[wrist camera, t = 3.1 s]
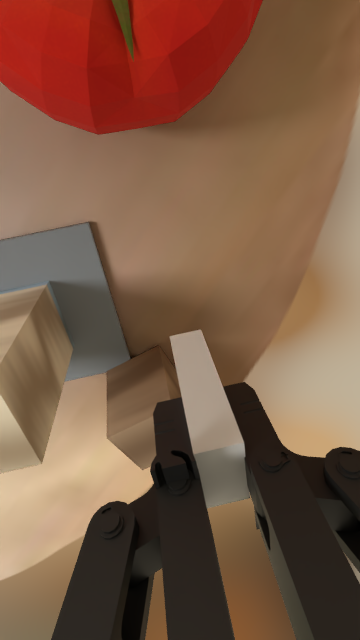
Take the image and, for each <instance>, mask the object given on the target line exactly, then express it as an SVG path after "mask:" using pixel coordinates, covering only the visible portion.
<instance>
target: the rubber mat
mask: <svg viewBox="0 0 360 640" xmlns="http://www.w3.org/2000/svg"><path fill="white" fill-rule="evenodd" d="M46 281H49V283H50V285H51V287H52V290H53V292H54V295H55V297H56V300H57V302H58V305H59V307H60V310H61V312H62V315H63V317H64V320H65V322H66V325H67V327H68V330H69V332H70V335H71V337H72V340H73V342H74V348H73V352H72V355H71V359H70V363H69V366H68V370H67V374H66V377H65V381H69V380H74V379H78V378H83V377H87V376H92V375H96V374H101V373H105V372H107V371H108V370H110V369H112V368H114V367H116V366H118V365H120V364H122V363H124V362H126V361H128V360H130V359H131V358H130V354H129V351H128V348H127V345H126V341H125V338H124V335H123V332H122V328H121V325H120V322H119V319H118V315H117V312H116V309H115V306H114V302H113V299H112V296H111V292H110V289H109V286H108V283H107V279H106V276H105V273H104V270H103V266H102V263H101V260H100V257H99V253H98V250H97V247H96V244H95V240H94V237H93V234H92V231H91V227H90V224H89V222H85V223H80V224H76V225H71V226H66V227H61V228H56V229H51V230H47V231H42V232H37V233H32V234H27V235H22V236H17V237H13V238H8V239H3V240H0V291H4V290H8V289H13V288H18V287H23V286H27V285H32V284H37V283H41V282H46ZM65 381H64V382H65Z"/></svg>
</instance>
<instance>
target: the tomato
mask: <svg viewBox="0 0 360 640" xmlns="http://www.w3.org/2000/svg"><path fill="white" fill-rule="evenodd" d="M262 1H263V0H0V81H1V82H2V83H3V84H4V85H5V86H6V87H7V88H8V89H9V90H10V91H12V92H13V93H15V94H16V95H18V96H19V97H21V98H22V99H24V100H25V101H27V102H28V103H30V104H32V105H33V106H35V107H36V108H38V109H39V110H41V111H42V112H44V113H45V114H47V115H48V116H50V117H51V118H53V119H54V120H56V121H59V122H62V123H65V124H68V125H71V126H74V127H77V128H80V129H83V130H86V131H89V132H92V133H95V134H98V135H100V134H106V133H112V132H119V131H125V130H131V129H138V128H143V127H148V126H153V125H158V124H164V123H169V122H174V121H176V120H177V119H179V118H180V117H181V116H182V115H184V114H185V113H186V112H187V111H189V110H190V109H191V108H192V107H194V106H195V105H196V104H197V103H199V102H200V101H201V100H202V99H204V98H205V97H206V96H207V95H209V94H210V92H211V91H212V89H213V88H214V87H215V85H216V84H217V83H218V81H219V80H220V78H221V77H222V76H223V74H224V73H225V71H226V70H227V69H228V67H229V66H230V65H231V63H232V62H233V60H234V59H235V58H236V56H237V55H238V54H239V52H240V50H241V49H242V47H243V46H244V44H245V43H246V41H247V39H248V37H249V35H250V32H251V29H252V27H253V24H254V22H255V19H256V16H257V14H258V11H259V9H260V6H261V3H262Z"/></svg>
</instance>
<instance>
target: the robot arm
mask: <svg viewBox="0 0 360 640" xmlns="http://www.w3.org/2000/svg"><path fill="white" fill-rule="evenodd" d="M170 341H171V346H172V351H173V356H174V361H175V366H176V371H177V376H178V381H179V386H180V391H181V396H182V397H180V398H175V399H171V400H166V401H162V402H157V405H156V407H155V409H154V412H153V420H154V433H155V445H156V456H155V458H154V460H153V462H152V463H151V469H150V472H151V475H152V478H153V481H154V484H153V486H152V487H151V489H150V490H149V491H148V492H147V493H146V494H144V495H143V496H141V497H140V498H138V499H137V500H135V501H133V502H131V503H130V504H127V503H125V502H120V501H115V502H109V503H107V504H106V505H104V506H102V507H101V508H100V509H99V510H98V511H97V512H96V513H95V514H94V515H93V517H92V519H91V521H90V523H89V525H88V528H87V531H86V534H85V537H84V540H83V543H82V547H81V550H80V553H79V556H78V559H77V562H76V565H75V568H74V571H73V574H72V577H71V580H70V583H69V586H68V590H67V593H66V596H65V599H64V602H63V605H62V608H61V611H60V614H59V617H58V620H57V624H56V627H55V629H54V633H53V636H52V639H51V640H145V636H146V629H147V622H148V615H149V607H150V600H151V594H152V587H153V580H154V573H155V572H157V571H158V570H160V569H161V568H162V570H163V583H164V596H165V609H166V622H167V635H168V640H235V637H234V633H233V628H232V623H231V619H230V615H229V609H228V604H227V600H226V595H225V591H224V586H223V581H222V576H221V572H220V567H219V563H218V558H217V553H216V548H215V544H214V539H213V534H212V529H211V525H210V520H209V516H208V511H207V508H210V507H215V506H219V505H223V504H227V503H231V502H235V501H240V500H244V499H248V498H250V495H251V498H252V501H253V504H254V509H255V518H256V527H257V529H260V531H261V534H262V537H263V540H264V543H265V546H266V549H267V552H268V555H269V558H270V561H271V564H272V567H273V570H274V573H275V576H276V579H277V582H278V585H279V588H280V591H281V594H282V597H283V600H284V603H285V607H286V610H287V613H288V616H289V618H290V621H291V624H292V628H293V630H294V634H295V636H296V640H360V584H359V582H358V580H357V578H356V576H355V574H354V572H353V570H352V568H351V566H350V564H349V563H348V560H347V558H346V557H345V555H344V553H345V554H346V556H347V557H348V558H349V559H350V561H351V562H352V563H353V565H354V566H355V567H356V568H357V570H358V571H359V572H360V451H357V450H355V449H352V448H346V447H339V448H335V449H332V450H331V451H330V452H329V453H327V455H326V457H325V458H320V457H307V456H301V455H298V454H295V453H293V452H291V451H290V450H288V449H287V448H286V447H285V446H283V444H282V443H281V441H280V440H279V438H278V436H277V434H276V432H275V430H274V428H273V426H272V424H271V422H270V420H269V418H268V416H267V414H266V413H265V410H264V409H263V407H262V404H261V402H260V401H259V399H258V396H257V395H256V392H255V390H254V389H253V388H251V387H250V386H249V385H248V384H246V383H245V382H242V383H238V384H233V385H229V386H225V387H223V386H222V383H221V381H220V378H219V375H218V373H217V370H216V368H215V365H214V362H213V360H212V357H211V354H210V352H209V349H208V347H207V344H206V341H205V339H204V336H203V333H202V331H201V329H200V330H196V331H191V332H186V333H182V334H177V335H173V336H170ZM249 492H250V493H249ZM342 550H343V551H342ZM343 552H344V553H343Z"/></svg>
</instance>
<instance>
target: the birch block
mask: <svg viewBox="0 0 360 640" xmlns="http://www.w3.org/2000/svg"><path fill="white" fill-rule="evenodd" d="M73 348H74V342H73V340H72V337H71V335H70V332H69V330H68V327H67V325H66V322H65V320H64V317H63V315H62V312H61V310H60V307H59V305H58V302H57V300H56V297H55V295H54V292H53V290H52V287H51V285H50V283H49V281H46V282H41V283H37V284H32V285H27V286H23V287H18V288H13V289H8V290H4V291H0V474H1V473H6V472H10V471H14V470H18V469H23V468H27V467H31V466H36V465H40V464H42V462H43V458H44V454H45V451H46V447H47V443H48V440H49V436H50V432H51V429H52V425H53V421H54V418H55V414H56V410H57V407H58V403H59V399H60V396H61V392H62V388H63V385H64V381H65V377H66V374H67V370H68V366H69V363H70V359H71V355H72V352H73Z"/></svg>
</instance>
